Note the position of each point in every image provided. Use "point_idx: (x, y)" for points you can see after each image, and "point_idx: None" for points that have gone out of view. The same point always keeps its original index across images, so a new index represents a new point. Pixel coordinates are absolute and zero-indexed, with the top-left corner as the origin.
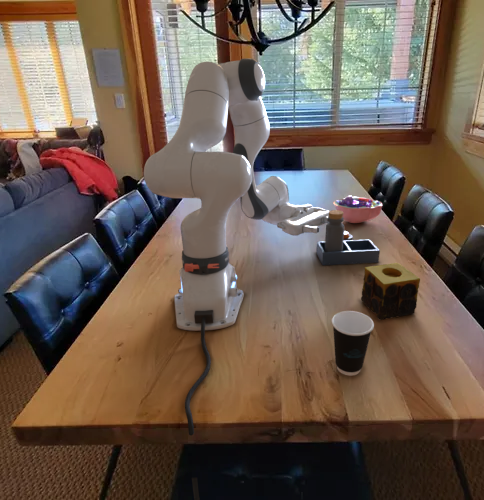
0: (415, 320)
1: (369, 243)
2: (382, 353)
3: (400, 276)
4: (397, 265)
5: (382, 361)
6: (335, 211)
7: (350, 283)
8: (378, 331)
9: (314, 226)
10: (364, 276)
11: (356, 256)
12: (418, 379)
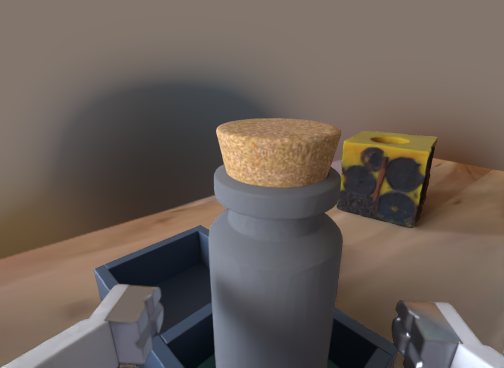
0: None
1: (127, 268)
2: (469, 189)
3: (387, 136)
4: (356, 140)
5: (479, 187)
6: (265, 128)
7: (380, 264)
8: (444, 199)
9: (434, 338)
10: (425, 172)
11: None
12: (453, 173)
